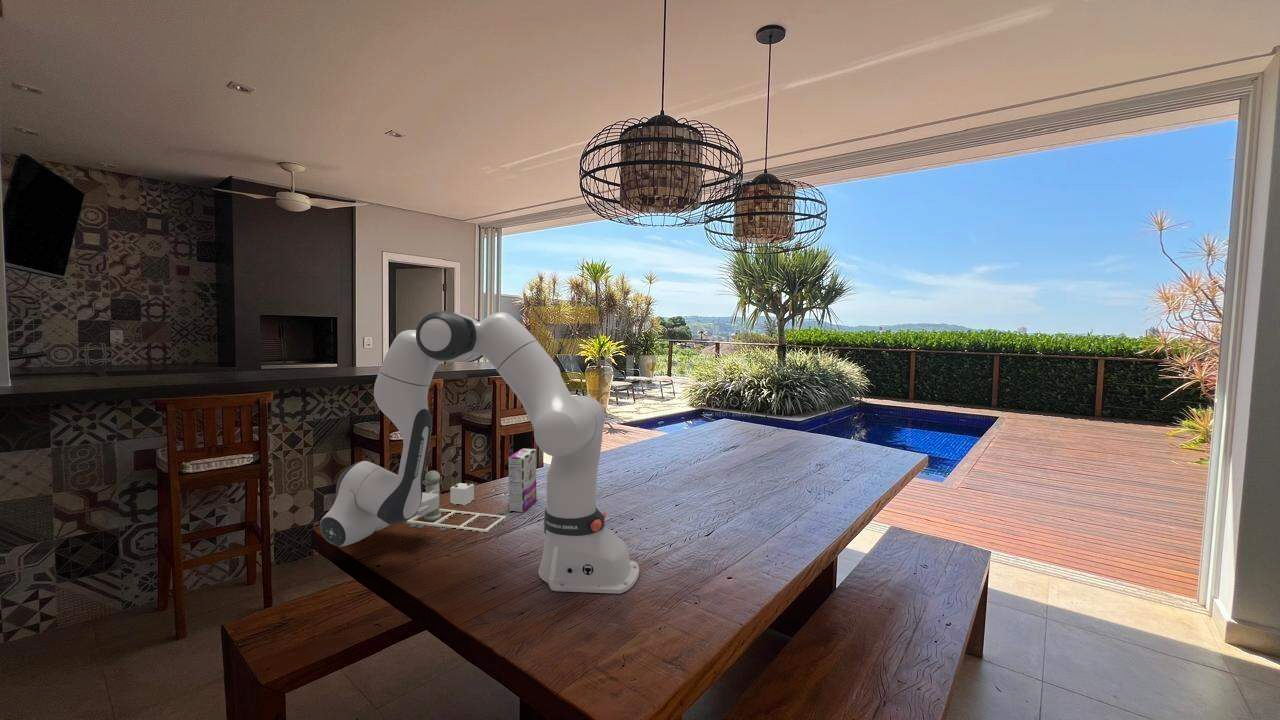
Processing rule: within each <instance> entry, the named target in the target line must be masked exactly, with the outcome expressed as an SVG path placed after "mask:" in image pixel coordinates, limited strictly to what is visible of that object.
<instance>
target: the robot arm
mask: <svg viewBox="0 0 1280 720" xmlns="http://www.w3.org/2000/svg"><path fill="white" fill-rule="evenodd" d="M483 357H484V358H485V359H487V360H488V362H489V363H490V364H491V365H492V366H493V367H494V369H495V371H496V372H497V373H498V374H499V376H501V378H502V379H503V380H504V382H505V383H506V384H507V385H508V387H509V388H510V389H511V391H512V392H513V393H514V394H515V396H516V398H517V399H518V400H519V402H520V403H521V405H522V407H523V409H524V410H525V413H526V415H527V417H528V419H529V421H530V423H531V426H532V427H533V437H534V441H535V443H536V445H537V447H538V448H539V450H541V451H542V452H543V453H544V454H545V455H548V456H551V457H552V458H551V462H550V464H549V468H548V471H547V474H546V508H545V509H544V514H543V515H544V517H543V529H544V531H543V533H544V537H545V538H544V545H543V551H542V556H541V562H540V564H539V568H538V573H537V574H538V576H539V579H541V580H542V581H544V582H545V583H547V584H548V587H549V589H550V590H551V591H552V592H553V591H554V592H571V593H572V592H573V593H590V594H591V593H597V594H614V595H615V594H616V595H617V594H623V593H625V592H627V591H629V590H630V589H631V588H633V587H634V586H635V584H636V583H637V581H638V578H639V577H640V566H639V564H638V563H637V561H635V560H631V558H630V552H629V549H628V546H627V544H626V542H625V541H624V540H622V539H621V538H620V537H618V536H617V535H616V534H615V533H614V532H613V531H611V530H610V529H609V528H607V527H606V526H605V518H606V517H607V511H606V510H605V511H604V512H603V513H602V512H601V511H600V510H599V509H598V508H597V493H598V492H597V488H598V487H597V483H598V482H597V481H598V470H599V464H600V457H601V450H602V441H603V434H604V433H603V432H604V426H605V421H606V412H605V409H604V407H603V405H602V404H601V403H600V402H599V401H598V400H597V399H596V398H593V397H591V396H588V395H587V396H586V395H575V396H573V395H572V394H571V392H570V391H569V389H568V387H567V385H566V383H565V381H564V379H563V377H562V374H561V370H560V367H559V366H558V365H557V363H556V362H555V361H554V360H553V359H552V357H551V356H550V355H549V353H548V352H547V351H546V349H544V347H543V346H542V345H541V343H540V342H539V341H538V340H537V338H535V337H534V335H533V334H532V333H531V332H530V330H528V329H527V328H526V327H525V326H524V325H523V324H522V323H521V322H520V321H518V319H516V317H514V316H513V315H511V314H510V313H508V312H504V311H500V312H494V313H492V314H490V315H488V316H486V317H485V318H484V319H482V320H481V321H480V320H479V319H477V318H475V317H474V318H473V317H471V316H469V315H466V314H463V313H458V312H453V311H447V310H442V311H441V310H440V311H435V312H432V313H429V314H427V315H425V316H424V317H423V318H422V319H421V320H420V322H419V323H418V324H417V327H416V329H406V330H403V331H400V332H399V333H398V334H397V335H396V337H394V340H393V341H392V343H391V344H390V346H389V348H388V350H387V352H386V354H385V356H384V359H383V361H382V363H381V365H380V369H379V371H378V373H377V376H376V379H375V382H374V387H373V397H374V400H375V403H376V404H377V406H378V408H379V410H380V411H381V412H382V413H383V414H384V415H385V416H386V417H387V419H389V420H390V421H391V422H392V423H393V425H394V426H395V427H396V429H398V431H399V433H400V435H401V437H402V441H403V442H402V443H403V445H402V453H401V458H400V463H399V466H398V468H399V469H398V472H397V474H396V473H395V472H392V471H390V470H388V469H386V468H385V467H382V466H380V465H378V464H375V463H373V462H371V461H368V460H361V461H357V462H355V463H353V464H352V465H350V466H349V467H347V468H346V469H345V470H344V471H342V473H340V475H339V477H338V480H337V483H336V486H335V487H336V488H335V500H334V503H333V505H332V506H331V507H330V509H329V511H327V512H326V513H325V515H323V517H322V518H321V520H320V523H319V530H320V534H321V535H322V537H323V538H324V539H325V541H326V542H328V543H329V544H331V545H333V546H335V547H347V546H350V545H352V544H353V545H354V544H356V543H357V542H360V541H361V540H364V539H366V538H367V537H369V536H371V535H373V533H374V532H378V531H381V530H383V529H385V528H387V527H388V526H393V525H394V526H395V525H398V524H402V523H405V522H407V521H408V520H409V519H411V518H413V517H415V516H418V515H424V514H426V513H429V512H431V511H433V510H436V509H437V508H438V507H439V508H440V494H439V495H438V494H436V490H430V491H427V493H426V491H424V492H423V484H424V483H423V481H424V480H423V479H424V476H425V468H426V464H427V457H428V454H429V453H428V452H429V448H430V442H431V437H432V436H431V435H432V430H433V415H432V414H431V412H430V410H429V405H428V395H429V389H430V386H431V383H432V381H433V380H432V379H433V378H434V377H433V376H434V374H435V372H436V371H437V368H438V367H439V365H441V364H442V363H444V362H450V363H453V364H454V363H456V364H457V363H458V364H459V363H473V362H476V361H479V360H480V359H482V358H483Z"/></svg>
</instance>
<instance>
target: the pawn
mask: <svg viewBox="0 0 1280 720" xmlns="http://www.w3.org/2000/svg"><path fill="white" fill-rule="evenodd" d="M440 480H441V475H440V473H439V472H438V471H437V470H435V469H434V470H433V469H432V470H429V471H427V472H426V473H425V474H424V481H425V493H427V491H430V490H436V494H438V495H439V496H440ZM439 509H440V506H439V507H438V508H437V509H436V510H433V511H431V512H429V513H426V514H424V516H423V520H425V521H426V522H427V521H428V522H432V521H438V520H439V519H441V518H442V512H439Z"/></svg>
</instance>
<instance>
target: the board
mask: <svg viewBox="0 0 1280 720" xmlns="http://www.w3.org/2000/svg"><path fill="white" fill-rule="evenodd" d="M439 512H440V513H446V512H451V513H448V514H446V515H444V516H442V517H441V518H440V519H438V520H435V521H434V522H431V521H428V522H427V521H420V520H418V519H421V518H422V517H424V515H418V516H415V515H414V516H413V517H412V518H411V519H409V520H407V521H406V523H407V524H409V525H408V527H409V528H411V529H412V528H417V529H418V530H419V529H420V530H421V529H424V528H425V526H427V527H437V528H438V531H439V532H445V531H447V529H451V528H456V529H455V530H459V529H464V530H463V531H467V530H472V531H471V532H475V531H479V532H478V533H483V532H487V533H488V532H490V531H491V530H492V529H494V528H495V527H496V526H498V525H499V524H500V523H502V522H503V521H504V520H506V519H507V516H506V515H498V514H490V513H482V512H481V513H480V512H472V511H462V510H455V509H447V508H439ZM455 513H461V514H460V515H464V514H471V515H470V516H472V515H475V516H472V517H471V518H469V519H468V520H466V521H465V522H462V524H460V525H455V524H445V523H442V522H444V521H446V520H447V519H449V518H450V517H449V516H451V515H452V516H454V515H456V514H455ZM453 514H454V515H453ZM452 516H451V517H452ZM479 516H480V517H481V516H489V517H488V518H490V517H497V518H496V521H494V522H492V523H491V524H490V525H489V526H488V527H486V528H479V527H470V526H468V525H469V524H471V523H472V522H474V521H475V520H477V519H478V518H479ZM448 517H449V518H448ZM477 517H478V518H477ZM476 518H477V519H476ZM498 518H500V519H498ZM505 518H506V519H505ZM445 519H446V520H445ZM474 519H475V520H474ZM503 519H504V520H503ZM473 520H474V521H473ZM502 520H503V521H502ZM501 521H502V522H501ZM470 522H471V523H470ZM499 522H500V523H499ZM468 523H469V524H468ZM498 523H499V524H498ZM467 524H468V525H467ZM497 524H498V525H497ZM495 525H496V526H495ZM464 526H465V527H464ZM494 526H495V527H494ZM442 527H443V528H442ZM444 527H445V528H444ZM493 527H494V528H493ZM491 528H492V529H491ZM490 529H491V530H490ZM489 530H490V531H489Z"/></svg>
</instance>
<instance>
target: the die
mask: <svg viewBox="0 0 1280 720" xmlns="http://www.w3.org/2000/svg"><path fill="white" fill-rule="evenodd" d="M449 490H450V491H449V492H450V493H449V494H450V495H449V496H450V503H453V504H452V505H456V504H460V505H459V506H467V505H468V503H469V504H470V503H472V502H473V501H472V500H474V501H475V484H473V483H470V482H469V483H462V482H459V483H457V484H454V485H453V486H451V487H450V489H449ZM471 501H472V502H471ZM461 504H462V505H461ZM466 504H467V505H466Z"/></svg>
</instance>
